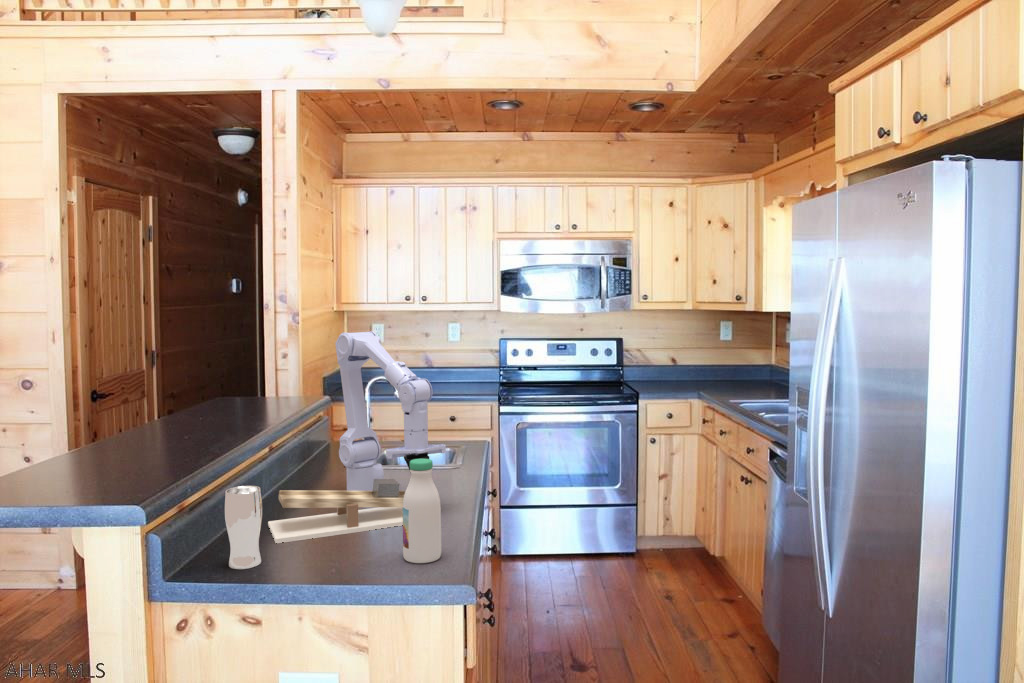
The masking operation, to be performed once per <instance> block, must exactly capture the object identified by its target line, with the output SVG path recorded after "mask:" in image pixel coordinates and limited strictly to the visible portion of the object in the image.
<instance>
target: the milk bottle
mask: <svg viewBox="0 0 1024 683" xmlns="http://www.w3.org/2000/svg"><path fill="white" fill-rule="evenodd" d="M433 465H434V464H433V460H432V459H430V458H429V459H414V460H411V461H410V470H409V472H411V473H410V479H409V482H408V484H407V487H406V490H405V491H406V492H405V494H404V499H403V526H402V555H403V559H404V560H405V561H407V562H408V563H413V564H427V563H432V562H436V561H437V560H439V559H440V558H441V557H442V511H441V510H442V509H441V508H442V507H441V498H440V494H439V491H438V488H437V487H436V484H435V483H434V480H433V475H432V472H433V470H434V469H433Z"/></svg>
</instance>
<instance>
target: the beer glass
mask: <svg viewBox="0 0 1024 683" xmlns="http://www.w3.org/2000/svg"><path fill="white" fill-rule="evenodd" d="M261 492H262V491H261V487H260V486H257V485H241V486H239V485H238V486H235V487H230V488H228V489H226V490H225V492H224V494H225V496H224V497H225V499H224V520H225V526H226V531H227V534H228V541H229V546H230V554H229V560H228V568H230V569H233V570H247V569H252V568H254V567H257V566H259V565H260V564H261V563H262V557H261V553H260V546H259V545H260V543H259V542H260V535H261V534H260V532H261V527H262V520H263V501H262V493H261Z"/></svg>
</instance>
